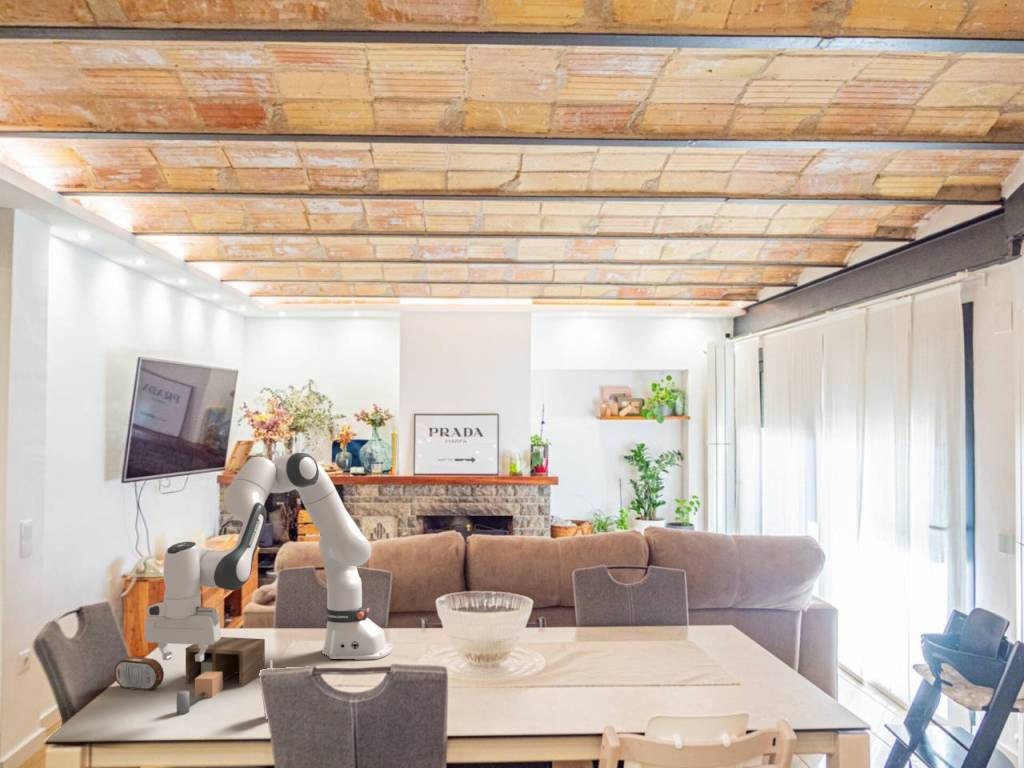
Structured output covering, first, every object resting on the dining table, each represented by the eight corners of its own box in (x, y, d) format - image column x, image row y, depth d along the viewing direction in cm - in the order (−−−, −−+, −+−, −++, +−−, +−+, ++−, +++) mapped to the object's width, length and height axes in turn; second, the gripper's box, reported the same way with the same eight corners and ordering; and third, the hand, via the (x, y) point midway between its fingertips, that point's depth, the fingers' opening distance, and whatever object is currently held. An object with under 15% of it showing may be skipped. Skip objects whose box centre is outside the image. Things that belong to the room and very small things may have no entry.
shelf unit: (264, 672, 232) (264, 639, 233) (242, 686, 221) (242, 650, 221) (210, 669, 236) (210, 636, 237) (185, 683, 224) (185, 647, 225)
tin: (164, 688, 220) (164, 658, 221) (156, 692, 217) (156, 661, 218) (120, 684, 224) (120, 654, 225) (112, 688, 221) (112, 658, 222)
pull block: (222, 689, 218) (222, 671, 219) (189, 714, 200) (189, 695, 200) (205, 689, 219) (205, 671, 219) (170, 714, 201) (170, 694, 201)
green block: (228, 673, 233) (228, 656, 233) (216, 680, 227) (216, 662, 227) (213, 672, 234) (213, 655, 234) (201, 679, 228) (201, 662, 228)
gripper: (225, 604, 203) (226, 657, 203) (156, 602, 207) (156, 654, 207) (211, 610, 197) (212, 665, 196) (140, 608, 201) (140, 662, 201)
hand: (183, 660), depth 202 cm, fingers open, 8 cm apart
